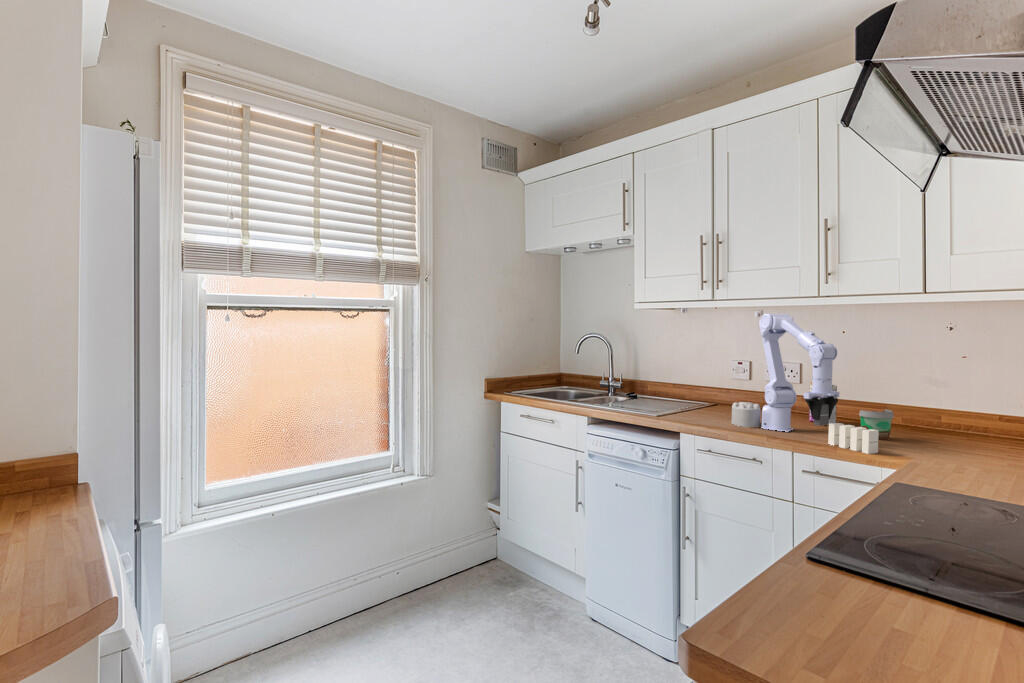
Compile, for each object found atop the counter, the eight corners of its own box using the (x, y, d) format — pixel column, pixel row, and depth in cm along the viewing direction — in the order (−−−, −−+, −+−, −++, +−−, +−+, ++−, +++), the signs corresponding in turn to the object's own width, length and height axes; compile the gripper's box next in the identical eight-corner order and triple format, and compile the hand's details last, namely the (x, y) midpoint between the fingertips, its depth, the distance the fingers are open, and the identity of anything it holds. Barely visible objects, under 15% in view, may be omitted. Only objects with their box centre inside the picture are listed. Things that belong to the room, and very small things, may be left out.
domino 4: (861, 452, 158) (862, 430, 158) (871, 451, 160) (871, 429, 159) (868, 453, 156) (868, 431, 156) (877, 452, 158) (878, 430, 158)
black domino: (813, 424, 173) (814, 404, 173) (823, 423, 175) (823, 403, 175) (819, 425, 171) (819, 405, 171) (828, 425, 173) (829, 404, 173)
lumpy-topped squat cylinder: (759, 423, 206) (760, 401, 206) (760, 428, 194) (761, 406, 194) (731, 421, 210) (732, 400, 210) (731, 426, 198) (731, 404, 198)
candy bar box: (807, 421, 212) (809, 381, 211) (820, 421, 212) (821, 381, 211) (823, 426, 201) (825, 384, 200) (836, 426, 201) (837, 384, 200)
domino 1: (828, 444, 168) (828, 423, 168) (837, 443, 170) (838, 422, 170) (833, 445, 167) (834, 424, 166) (843, 445, 168) (843, 423, 168)
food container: (874, 442, 173) (875, 412, 172) (858, 438, 179) (859, 410, 178) (902, 440, 176) (903, 411, 176) (885, 436, 182) (886, 408, 182)
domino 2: (838, 447, 165) (839, 425, 165) (848, 446, 167) (848, 424, 166) (844, 448, 163) (845, 426, 163) (854, 447, 165) (855, 425, 164)
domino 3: (850, 449, 162) (850, 427, 161) (859, 448, 163) (860, 426, 163) (856, 451, 160) (857, 428, 159) (865, 450, 161) (866, 428, 161)
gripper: (817, 381, 166) (816, 422, 167) (848, 379, 172) (847, 420, 172) (798, 379, 173) (797, 418, 173) (828, 377, 178) (827, 416, 179)
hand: (821, 419), depth 173 cm, fingers closed on black domino, 4 cm apart
